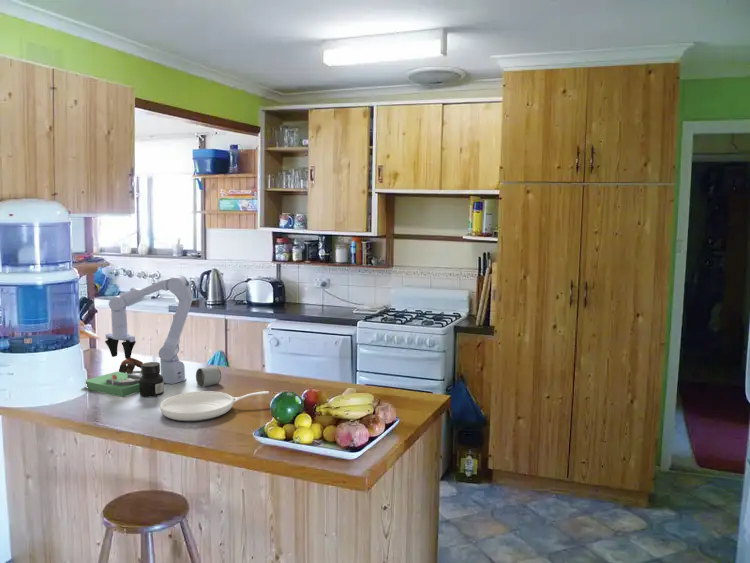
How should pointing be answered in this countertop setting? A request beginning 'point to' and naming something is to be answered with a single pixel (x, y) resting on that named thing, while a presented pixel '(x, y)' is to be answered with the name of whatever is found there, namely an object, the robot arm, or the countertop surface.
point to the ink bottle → (151, 380)
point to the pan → (199, 405)
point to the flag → (113, 378)
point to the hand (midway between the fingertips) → (121, 357)
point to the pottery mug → (129, 365)
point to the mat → (115, 384)
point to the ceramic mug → (208, 376)
